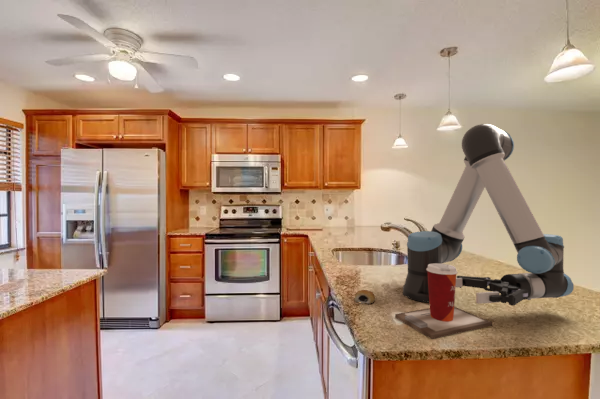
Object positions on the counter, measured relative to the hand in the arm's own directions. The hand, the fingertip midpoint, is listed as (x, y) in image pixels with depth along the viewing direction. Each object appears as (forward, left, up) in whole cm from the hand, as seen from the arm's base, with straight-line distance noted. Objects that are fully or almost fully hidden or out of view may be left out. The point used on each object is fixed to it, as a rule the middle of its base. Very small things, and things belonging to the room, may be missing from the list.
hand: (458, 290), depth 81 cm
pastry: (-24, -16, -9) cm, 31 cm away
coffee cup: (-2, -5, -8) cm, 10 cm away
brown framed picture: (-2, -5, -9) cm, 10 cm away
